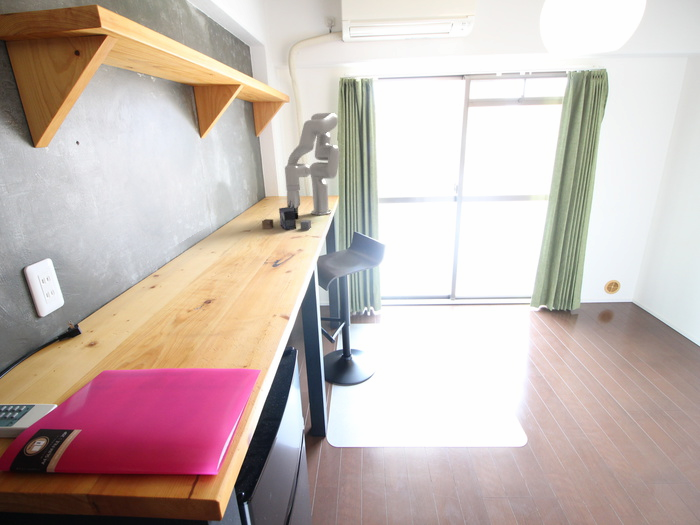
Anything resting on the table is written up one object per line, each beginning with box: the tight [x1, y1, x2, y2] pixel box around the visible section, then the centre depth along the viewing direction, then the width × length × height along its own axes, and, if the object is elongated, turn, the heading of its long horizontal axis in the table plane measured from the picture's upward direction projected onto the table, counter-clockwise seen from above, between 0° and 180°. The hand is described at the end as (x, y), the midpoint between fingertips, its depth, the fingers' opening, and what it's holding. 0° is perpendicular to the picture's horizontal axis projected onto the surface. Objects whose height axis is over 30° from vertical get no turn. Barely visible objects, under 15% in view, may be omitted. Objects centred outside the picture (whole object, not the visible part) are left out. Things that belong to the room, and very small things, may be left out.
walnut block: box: [261, 218, 274, 230], centre depth 204 cm, size 4×4×4 cm
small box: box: [278, 206, 297, 231], centre depth 203 cm, size 11×6×10 cm, turn 25°
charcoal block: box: [299, 219, 312, 231], centre depth 200 cm, size 4×4×4 cm
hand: (295, 219), depth 216 cm, fingers closed
